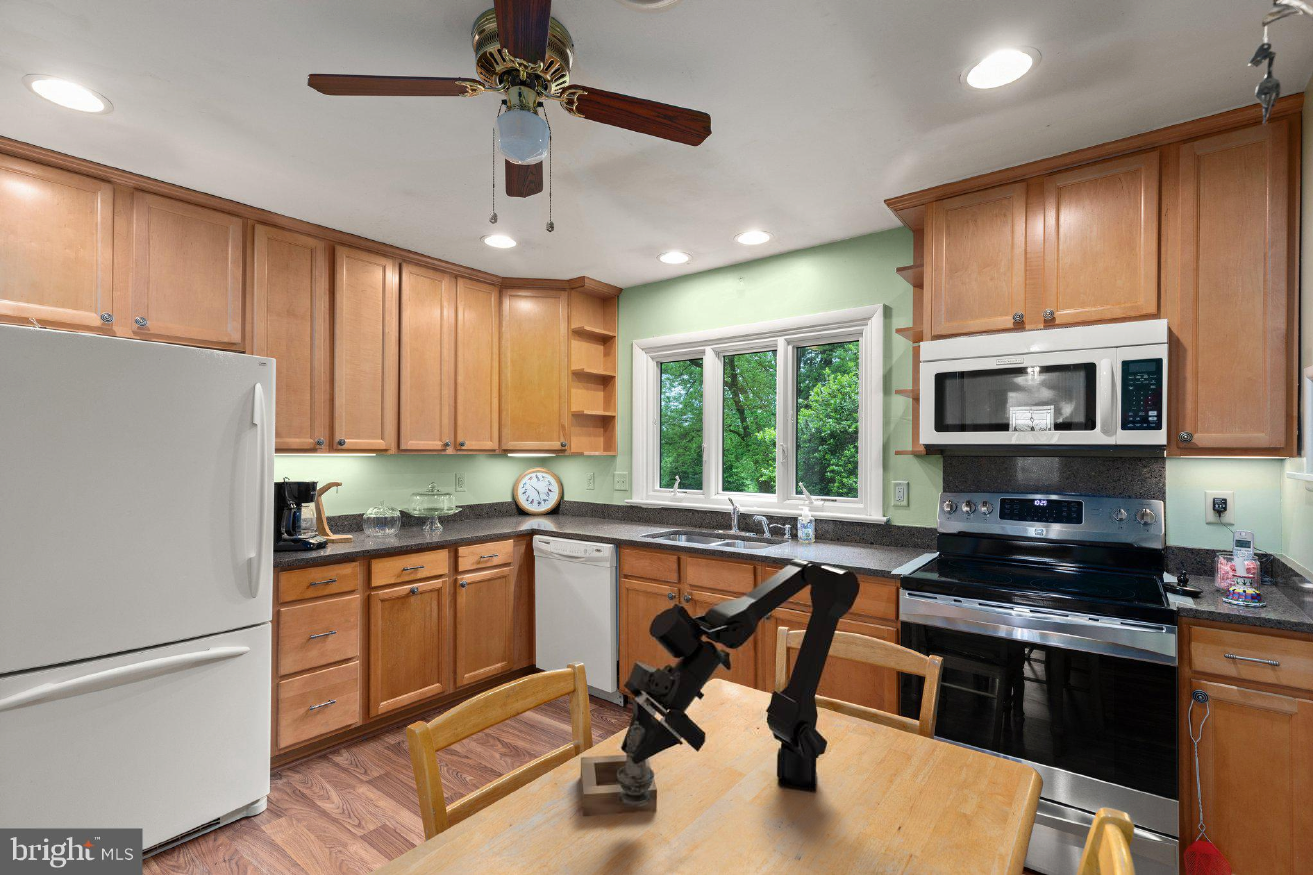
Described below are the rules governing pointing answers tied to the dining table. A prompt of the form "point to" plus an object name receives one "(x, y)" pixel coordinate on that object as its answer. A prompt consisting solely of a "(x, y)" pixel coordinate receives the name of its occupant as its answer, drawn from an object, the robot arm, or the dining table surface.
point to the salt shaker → (635, 772)
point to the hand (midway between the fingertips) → (628, 756)
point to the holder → (607, 787)
